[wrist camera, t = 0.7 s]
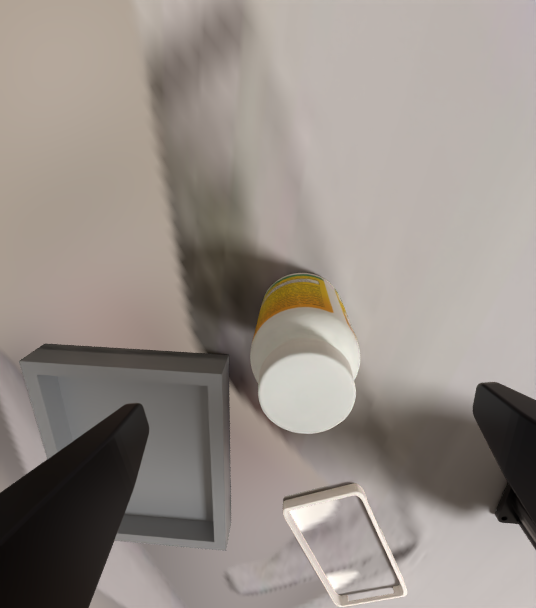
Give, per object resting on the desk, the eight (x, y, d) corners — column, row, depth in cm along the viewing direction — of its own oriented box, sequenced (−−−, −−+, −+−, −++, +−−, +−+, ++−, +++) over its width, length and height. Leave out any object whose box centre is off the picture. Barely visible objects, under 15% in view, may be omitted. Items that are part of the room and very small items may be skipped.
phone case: (280, 496, 29) (335, 592, 34) (279, 510, 28) (337, 609, 33) (358, 476, 28) (404, 580, 32) (361, 490, 27) (409, 596, 31)
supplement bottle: (357, 304, 22) (404, 393, 13) (304, 356, 23) (312, 467, 14) (296, 253, 21) (301, 310, 12) (245, 311, 22) (216, 401, 13)
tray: (231, 522, 30) (226, 550, 28) (86, 509, 31) (69, 536, 29) (228, 354, 24) (221, 374, 21) (44, 343, 24) (18, 361, 22)
